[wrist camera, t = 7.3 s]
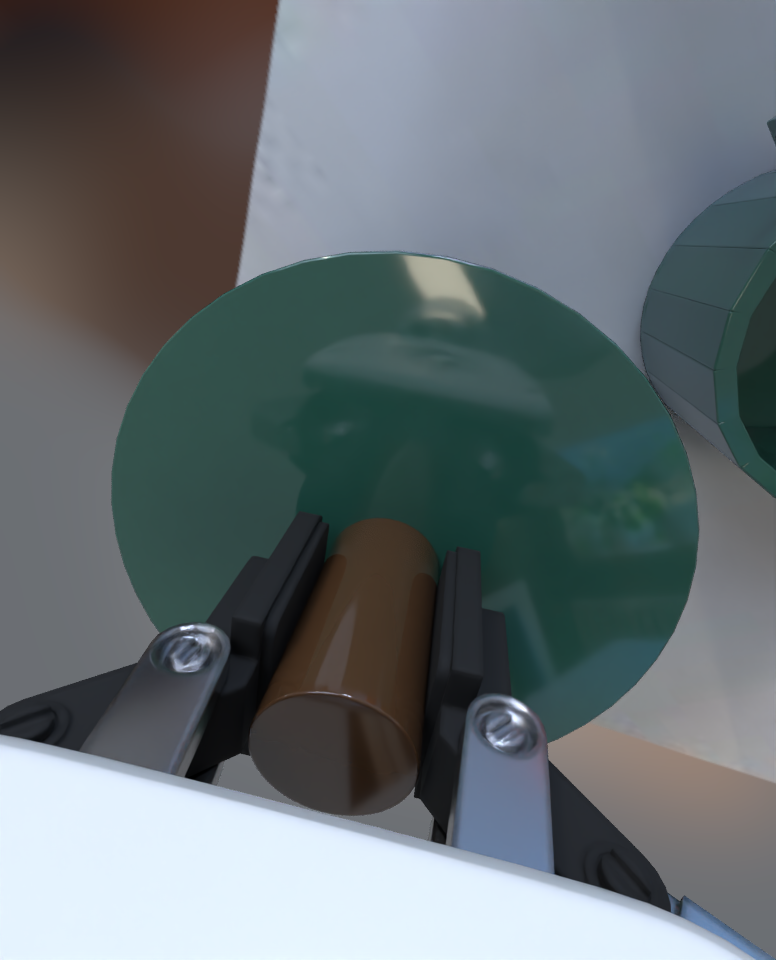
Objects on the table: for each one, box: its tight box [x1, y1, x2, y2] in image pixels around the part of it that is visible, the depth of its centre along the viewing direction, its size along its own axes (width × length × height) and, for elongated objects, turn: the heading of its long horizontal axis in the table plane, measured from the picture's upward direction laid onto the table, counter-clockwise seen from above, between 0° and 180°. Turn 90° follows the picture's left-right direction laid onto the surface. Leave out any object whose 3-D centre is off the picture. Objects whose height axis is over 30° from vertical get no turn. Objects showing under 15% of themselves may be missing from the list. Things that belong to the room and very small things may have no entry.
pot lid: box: [111, 251, 699, 816], centre depth 11 cm, size 15×15×7 cm
